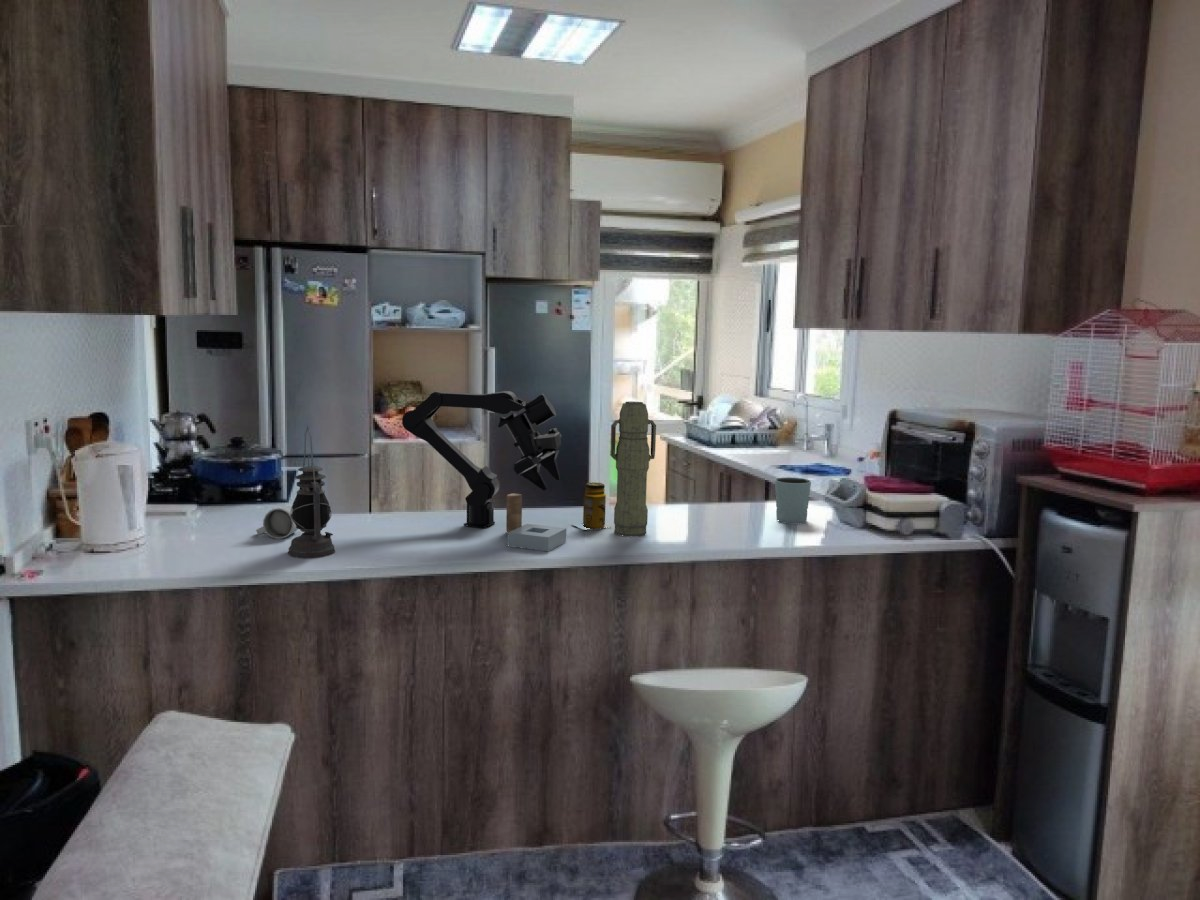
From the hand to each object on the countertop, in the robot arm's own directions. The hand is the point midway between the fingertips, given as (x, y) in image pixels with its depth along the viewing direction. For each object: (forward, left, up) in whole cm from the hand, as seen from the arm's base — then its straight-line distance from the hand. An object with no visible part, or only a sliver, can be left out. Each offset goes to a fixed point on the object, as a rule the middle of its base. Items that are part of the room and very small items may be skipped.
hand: (552, 484), depth 234 cm
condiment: (+9, +7, -12) cm, 17 cm away
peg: (-7, -8, -12) cm, 16 cm away
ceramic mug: (-58, -38, -12) cm, 71 cm away
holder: (+4, -17, -12) cm, 21 cm away
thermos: (+21, +5, -12) cm, 25 cm away
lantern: (-40, -48, -12) cm, 64 cm away
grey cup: (+58, +41, -12) cm, 72 cm away
